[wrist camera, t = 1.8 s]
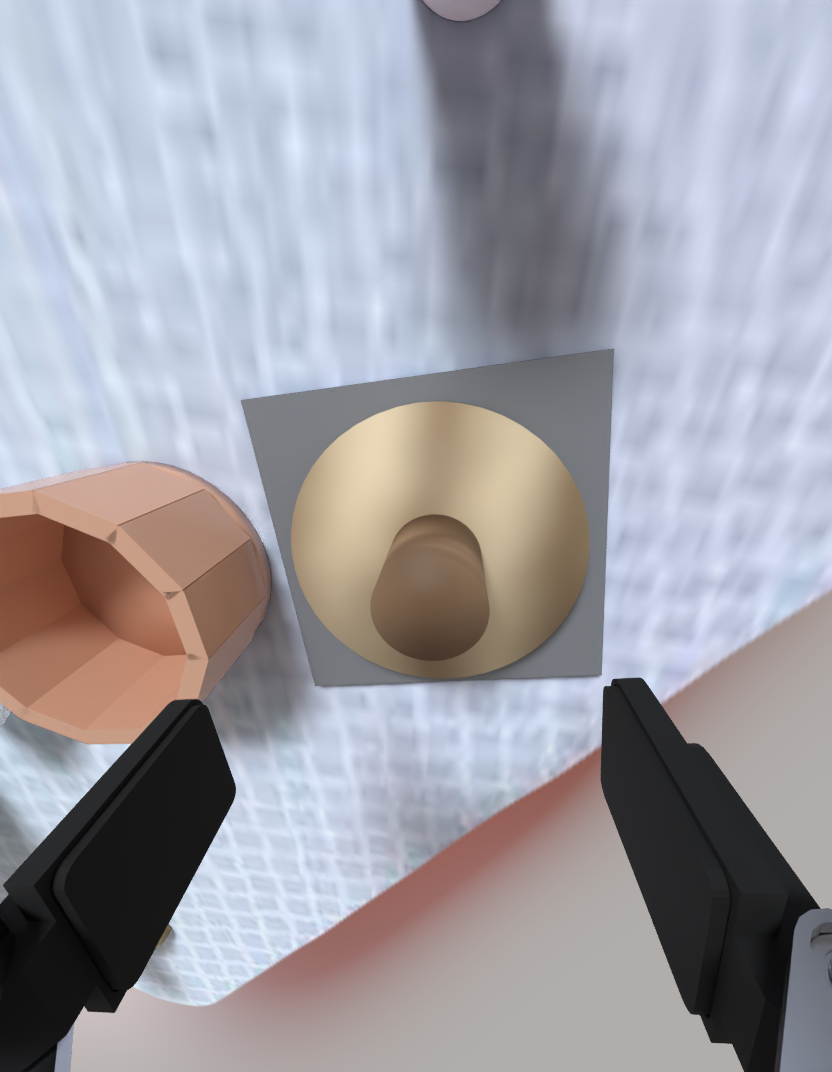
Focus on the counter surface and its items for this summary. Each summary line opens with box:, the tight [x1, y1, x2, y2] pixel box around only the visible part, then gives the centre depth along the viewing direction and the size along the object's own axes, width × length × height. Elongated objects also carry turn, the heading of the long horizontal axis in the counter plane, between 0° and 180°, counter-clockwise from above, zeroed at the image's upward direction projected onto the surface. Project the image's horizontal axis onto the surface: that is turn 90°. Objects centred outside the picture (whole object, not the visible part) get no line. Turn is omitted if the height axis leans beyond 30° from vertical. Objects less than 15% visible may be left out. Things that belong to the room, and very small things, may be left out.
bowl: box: [0, 461, 271, 744], centre depth 18 cm, size 11×11×6 cm
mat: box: [241, 349, 614, 686], centre depth 19 cm, size 15×15×1 cm
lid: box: [291, 401, 590, 678], centre depth 16 cm, size 13×13×6 cm
